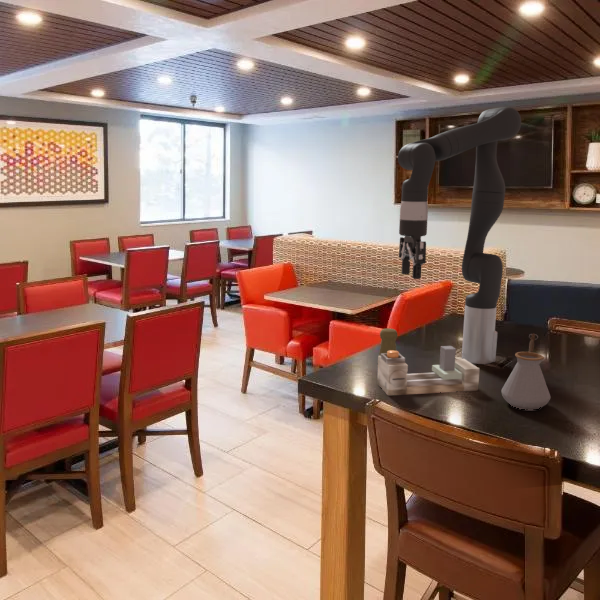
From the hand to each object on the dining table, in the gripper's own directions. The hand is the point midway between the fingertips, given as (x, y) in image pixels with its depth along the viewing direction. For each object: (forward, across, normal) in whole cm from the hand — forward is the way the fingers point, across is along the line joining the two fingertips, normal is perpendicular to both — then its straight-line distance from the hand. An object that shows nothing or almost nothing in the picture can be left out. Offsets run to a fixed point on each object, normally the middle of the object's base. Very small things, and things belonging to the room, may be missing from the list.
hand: (410, 276), depth 167 cm
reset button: (+20, -13, +9) cm, 25 cm away
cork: (+28, +8, +3) cm, 30 cm away
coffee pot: (+28, -25, -23) cm, 44 cm away
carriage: (+25, -13, -6) cm, 29 cm away
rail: (+28, -13, -1) cm, 31 cm away
